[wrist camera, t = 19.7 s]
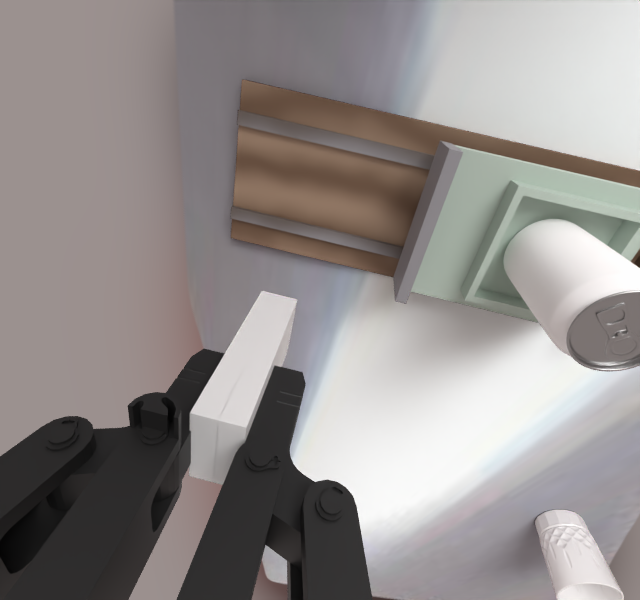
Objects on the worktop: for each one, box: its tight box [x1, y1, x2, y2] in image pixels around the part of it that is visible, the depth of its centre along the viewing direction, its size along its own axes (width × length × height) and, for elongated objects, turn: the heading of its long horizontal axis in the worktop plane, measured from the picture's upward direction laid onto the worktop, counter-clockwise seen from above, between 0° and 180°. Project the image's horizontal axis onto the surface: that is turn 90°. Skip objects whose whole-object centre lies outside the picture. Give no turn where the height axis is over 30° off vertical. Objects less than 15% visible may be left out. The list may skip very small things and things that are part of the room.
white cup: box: [535, 510, 624, 600], centre depth 53 cm, size 8×8×10 cm
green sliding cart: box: [394, 141, 640, 323], centre depth 32 cm, size 13×18×6 cm
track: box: [231, 80, 640, 277], centre depth 35 cm, size 15×41×3 cm, turn 79°
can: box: [503, 219, 640, 371], centre depth 26 cm, size 6×6×12 cm
